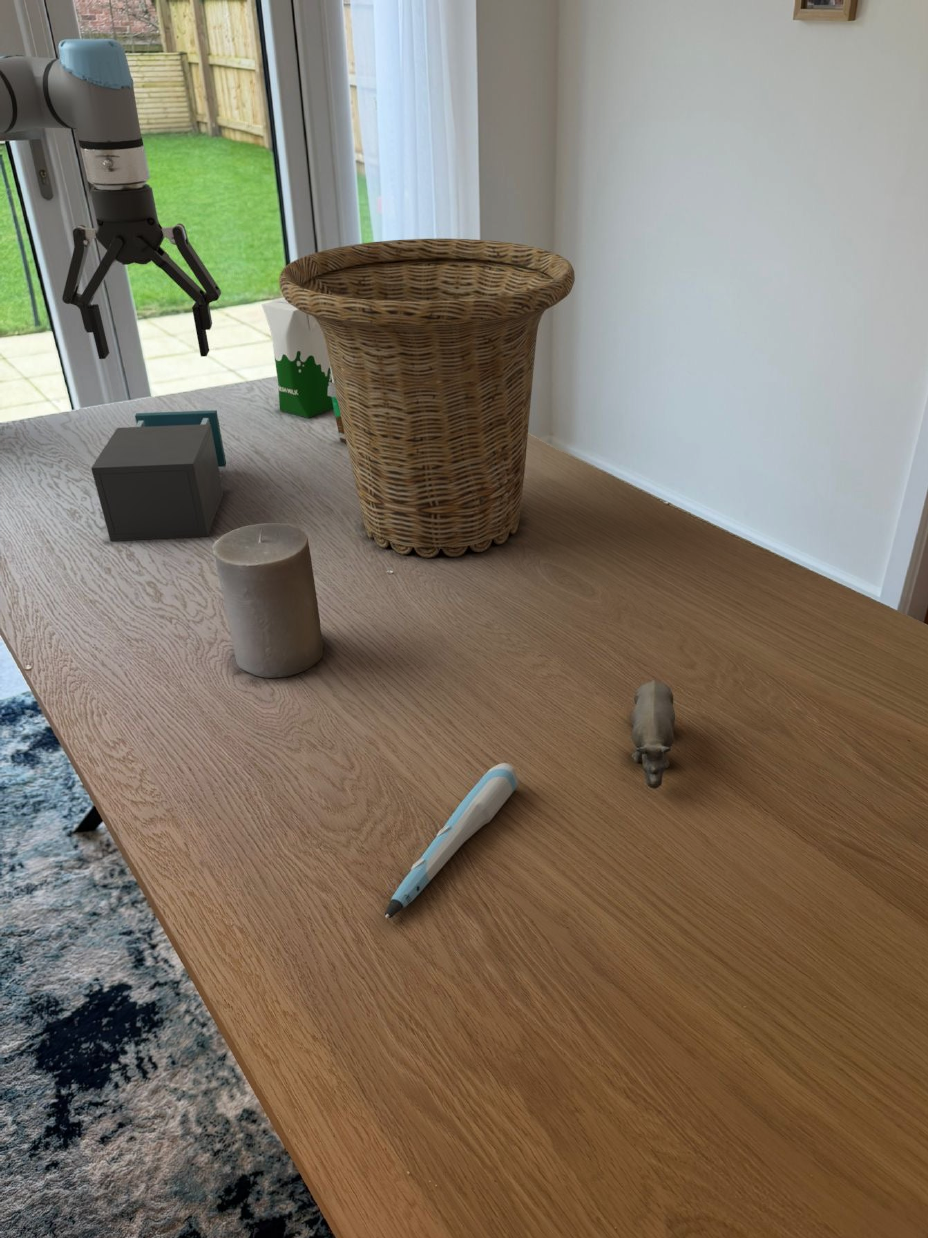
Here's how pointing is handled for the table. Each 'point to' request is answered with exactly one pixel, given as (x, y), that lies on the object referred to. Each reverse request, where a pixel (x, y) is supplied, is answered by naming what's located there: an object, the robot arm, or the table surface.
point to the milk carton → (299, 359)
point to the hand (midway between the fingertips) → (155, 355)
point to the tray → (186, 419)
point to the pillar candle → (270, 599)
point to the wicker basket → (433, 378)
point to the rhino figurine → (653, 729)
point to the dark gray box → (159, 482)
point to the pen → (457, 831)
